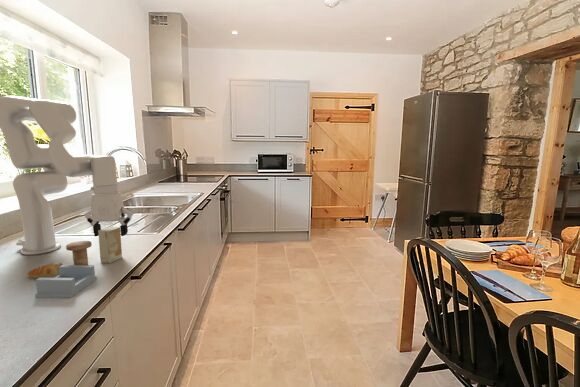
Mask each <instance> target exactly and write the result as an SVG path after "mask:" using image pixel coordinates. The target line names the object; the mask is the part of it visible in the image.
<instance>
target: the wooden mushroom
mask: <svg viewBox="0 0 580 387" xmlns="http://www.w3.org/2000/svg"><path fill="white" fill-rule="evenodd" d="M92 245H93V244H92V241H90V240H80V241H78V240H77V241H73V242H70V243H68V244H66V246H65V248H66V251H68V252H69V251H72V260H73V262H72V263H73V265H89V257H88V249H89V248H91V247H92Z"/></svg>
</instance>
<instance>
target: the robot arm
mask: <svg viewBox="0 0 580 387" xmlns="http://www.w3.org/2000/svg"><path fill="white" fill-rule="evenodd" d="M76 112H77V111H76V110H75V108H74V107H73V106H72V105H71V104H69V103H68V102H66V101H59V100H50V99H38V98H30V97H24V96H15V95H6V96H1V97H0V130H1V132H2V134H3V137H4V140H5V143H6V147H7V151H8V155H9V157H10V161H11V163H12V165H13V166H14V167H15V168H16V169H19V170H38V169H43V171H32V172H24V173H20V174H19V175H17V176H15V177H14V179H13V181H12V187H13V190H14V193H15V195H16V197H17V198H16V199H17V201H18V205H19V210H20V217H21V225H22V231H23V238H20V239H19V240H18V241H17V242H16V246H22V248H21V249H20V253H21V254H22V255H27V256H31V255H33V256H34V255H41V254H45V253H50V252H54V251H56V250H58V249H59V248H61V243H60V242H57V241H56V236H55V235H56V234H55V228H54V227H55V226H54V218H53V210H52V205H51V203H50V202H49V201H48V200H47V198H46V197H44V196H47V195H53V194H58V193H62V192H64V191H65V190H67V188H68V178H78V177H86V176H87V177H88V176H91V177H92V184H93V185H92V186H90V191H93V193H92V194H91V199H90V210H89V211H88V212H85V213H84V217H85V219H86V221H87V222H88V223H89V224H90V226H92V228H93V229H92V230H93V235H94V237H99V234H98V231H99V230H102V226H101V223H100V222H118V223H119V224H120V225H119V226H120V234H121V237H124V236H126V235H128V233H129V230H128V229H129V228H128V224H129V223H130V221H131V220H132V218H133V216H134V212H133V211H131V210H128V209H126V208H125V204H124V201H123V197H122V195H121V192H119V187H118V186H119V184H118V176H117V174H118V173H117V167H116V159H115V156H112V155H97V154H80V155H79V154H75V155H74V154H73V155H71V154H70V153H69V152H68V151H67V149H66V148H65V146H64V145H65V144H67V143H70V142H71V141H72V140H73V139H74V138H75V137H76V135H77V131H76V129H75V128H74V127H73V125H72V124H73V123H75V121H76V119H77V113H76ZM23 121H32V122H33V121H34V122H36V123H37V125H38V126H40V128H41V130H42V131H43V132H44V133H45V135H46V136H47V137H48V138H49V143H48V144H37V143H36V140H35V136H34V133H33V132H32V130H31V129H30V128H29V127H28V126H27V125H26V124H25V123H23ZM67 177H68V178H67ZM126 215H127V216H126Z"/></svg>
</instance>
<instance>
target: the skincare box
mask: <svg viewBox="0 0 580 387" xmlns="http://www.w3.org/2000/svg"><path fill="white" fill-rule="evenodd" d="M98 234H99V235H98V244H99V247H98V248H99V258H100V262H101V263H104V264H105V263H107V264H111V263H113V262H115V261H118V260H119V259H122V258H123V253H122V251H123V250H122V236H121V230H120V227H119V226H109V227H106V228H101V230H99V231H98Z"/></svg>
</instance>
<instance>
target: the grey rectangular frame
mask: <svg viewBox="0 0 580 387" xmlns="http://www.w3.org/2000/svg"><path fill="white" fill-rule="evenodd" d="M59 273H60V275H58V276H56V277H54V278H38V279H37V278H35V285H36V286H35V288H36V293H35V294H34V296H35V298H38V299H39V298H47V299H48V298H54V299H55V298H56V299H58V298H59V299H60V298H61V299H64V298H67V299H69V298H70V299H71V298H72V297H74V296H76V294H78V293H79V292H81V291H82V290H84V289H85V288H87V287H88V286H90V284H92V283H94V282H95V281H96V280H97V279H98V278H97V277H98V276H97V275H95V265H92V264H90V265H89V264H88V265H74V264H71V265H70V264H63V265H61V266H60V267H59Z"/></svg>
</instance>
